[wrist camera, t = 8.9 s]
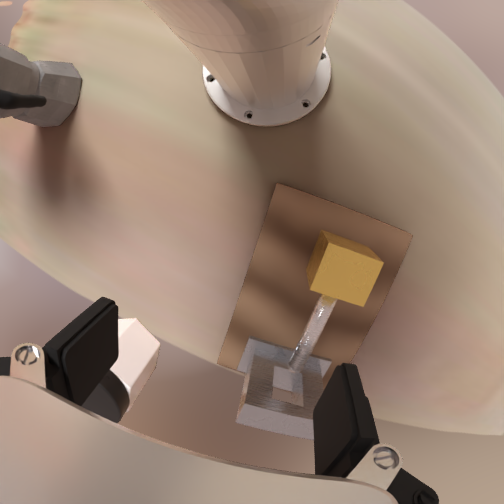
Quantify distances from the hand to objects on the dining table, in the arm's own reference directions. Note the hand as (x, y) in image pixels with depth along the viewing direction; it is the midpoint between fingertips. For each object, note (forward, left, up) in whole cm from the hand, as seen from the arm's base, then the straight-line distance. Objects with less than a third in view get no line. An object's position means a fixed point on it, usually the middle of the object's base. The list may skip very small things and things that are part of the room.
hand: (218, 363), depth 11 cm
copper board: (+5, +7, -20) cm, 22 cm away
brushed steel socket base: (+13, +7, -20) cm, 25 cm away
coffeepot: (-10, -30, -20) cm, 37 cm away
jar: (+19, -12, -20) cm, 30 cm away
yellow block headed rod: (+3, +7, -17) cm, 19 cm away
